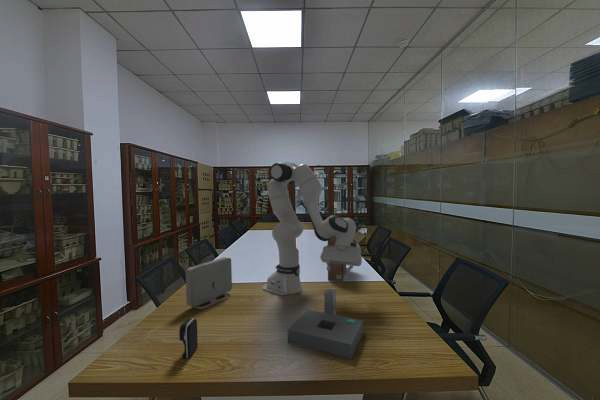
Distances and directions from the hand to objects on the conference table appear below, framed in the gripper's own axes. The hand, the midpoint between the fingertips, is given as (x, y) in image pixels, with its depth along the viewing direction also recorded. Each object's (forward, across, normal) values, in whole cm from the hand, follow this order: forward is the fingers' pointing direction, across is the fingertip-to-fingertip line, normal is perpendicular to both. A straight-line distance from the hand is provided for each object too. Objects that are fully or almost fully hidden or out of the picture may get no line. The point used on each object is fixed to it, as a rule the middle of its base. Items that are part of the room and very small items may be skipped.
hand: (337, 271), depth 130 cm
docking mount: (+32, +4, -7) cm, 33 cm away
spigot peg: (+20, 0, +5) cm, 21 cm away
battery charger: (+52, -37, -27) cm, 70 cm away
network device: (+26, -62, -1) cm, 67 cm away
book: (-21, -15, +46) cm, 52 cm away
